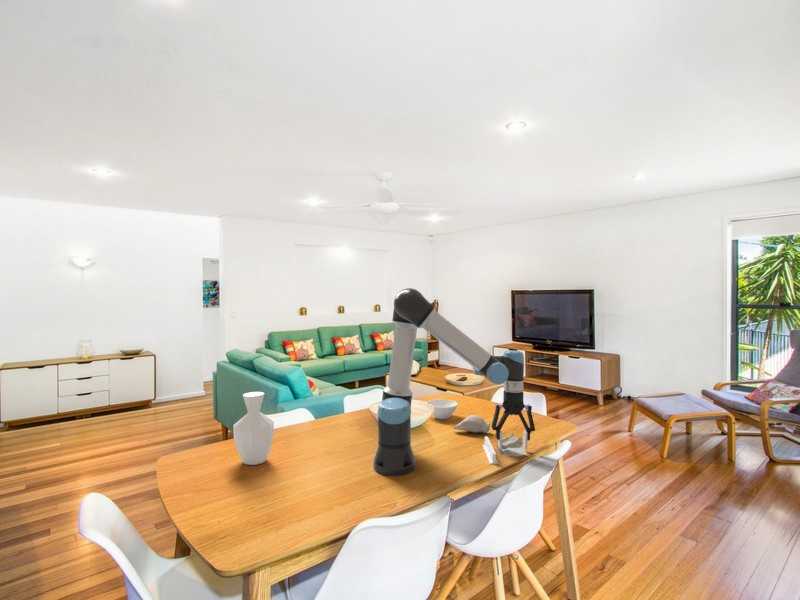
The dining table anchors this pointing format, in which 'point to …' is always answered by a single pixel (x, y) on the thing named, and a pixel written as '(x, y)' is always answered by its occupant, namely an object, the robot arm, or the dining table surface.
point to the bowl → (443, 408)
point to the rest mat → (512, 451)
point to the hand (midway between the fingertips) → (512, 448)
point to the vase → (253, 431)
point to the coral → (511, 442)
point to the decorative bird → (473, 424)
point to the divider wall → (490, 451)
